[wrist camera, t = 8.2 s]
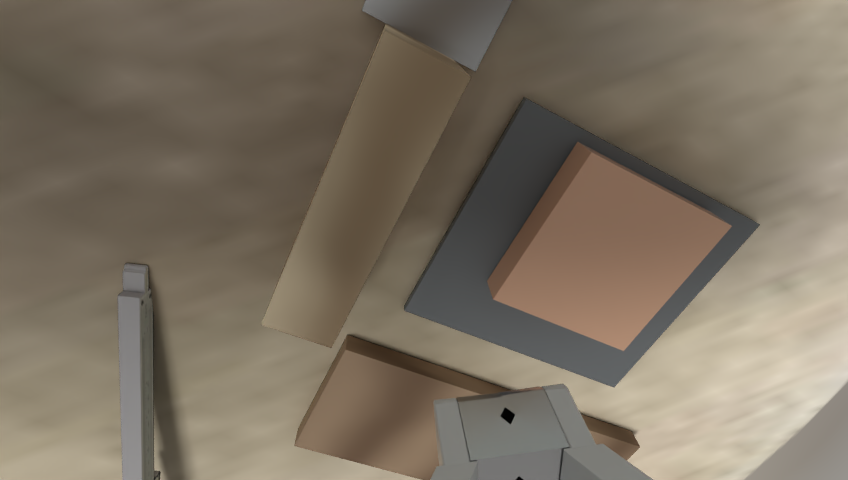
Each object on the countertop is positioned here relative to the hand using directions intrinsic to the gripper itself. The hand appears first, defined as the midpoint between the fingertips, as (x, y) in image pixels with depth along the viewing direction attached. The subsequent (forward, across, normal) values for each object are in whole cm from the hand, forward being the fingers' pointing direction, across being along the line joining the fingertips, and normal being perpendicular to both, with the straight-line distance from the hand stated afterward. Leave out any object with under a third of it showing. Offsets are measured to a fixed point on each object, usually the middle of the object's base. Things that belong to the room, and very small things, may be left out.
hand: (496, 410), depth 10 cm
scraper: (+13, +2, -3) cm, 13 cm away
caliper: (+14, +17, +12) cm, 25 cm away
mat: (+12, -7, +4) cm, 15 cm away
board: (+12, -1, +16) cm, 21 cm away
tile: (+11, -6, +7) cm, 14 cm away
